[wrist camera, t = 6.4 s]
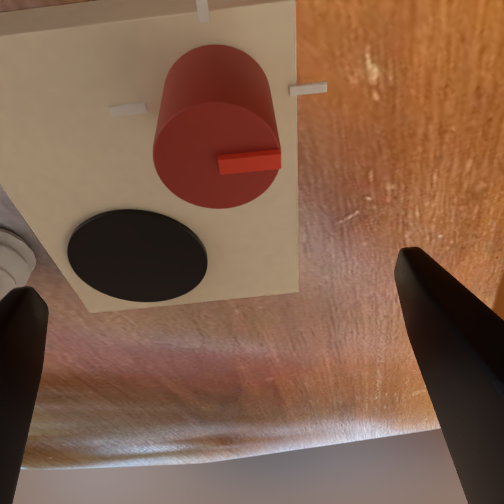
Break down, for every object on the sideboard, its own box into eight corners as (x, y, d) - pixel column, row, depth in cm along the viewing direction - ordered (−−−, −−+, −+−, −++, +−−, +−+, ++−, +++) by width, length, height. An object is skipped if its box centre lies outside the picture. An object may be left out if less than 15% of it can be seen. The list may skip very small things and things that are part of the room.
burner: (42, 217, 19) (40, 222, 19) (193, 201, 19) (193, 205, 19) (98, 303, 25) (97, 308, 25) (217, 292, 25) (217, 296, 24)
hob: (-83, -14, 14) (-125, 12, 13) (318, -65, 14) (332, -45, 12) (97, 281, 27) (89, 315, 25) (310, 259, 27) (317, 292, 25)
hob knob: (176, 149, 17) (168, 221, 14) (151, 49, 14) (134, 115, 11) (272, 139, 17) (284, 209, 14) (267, 37, 14) (280, 100, 11)
